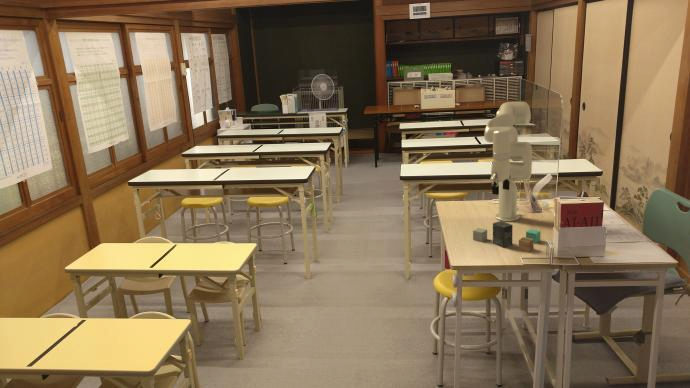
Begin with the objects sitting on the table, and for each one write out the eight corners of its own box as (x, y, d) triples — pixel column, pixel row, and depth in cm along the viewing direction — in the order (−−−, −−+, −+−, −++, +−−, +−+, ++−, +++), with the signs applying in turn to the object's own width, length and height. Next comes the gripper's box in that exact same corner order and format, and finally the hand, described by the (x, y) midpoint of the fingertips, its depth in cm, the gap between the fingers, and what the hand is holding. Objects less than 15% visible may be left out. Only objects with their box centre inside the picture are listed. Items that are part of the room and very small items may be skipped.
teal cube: (530, 238, 263) (530, 229, 262) (540, 240, 260) (540, 230, 258) (525, 241, 259) (526, 231, 258) (535, 243, 256) (536, 233, 255)
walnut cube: (523, 246, 253) (523, 237, 252) (533, 249, 250) (533, 239, 249) (518, 250, 250) (518, 240, 249) (528, 252, 246) (529, 242, 245)
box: (512, 245, 256) (512, 224, 253) (503, 248, 253) (503, 227, 251) (501, 240, 263) (501, 220, 260) (492, 243, 260) (492, 222, 257)
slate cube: (478, 237, 269) (478, 227, 268) (487, 239, 266) (487, 229, 265) (473, 240, 266) (473, 230, 265) (482, 242, 263) (482, 232, 261)
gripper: (503, 152, 255) (502, 186, 259) (484, 159, 243) (484, 195, 248) (517, 153, 250) (517, 188, 254) (499, 160, 238) (498, 197, 243)
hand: (500, 191), depth 251 cm, fingers open, 9 cm apart
